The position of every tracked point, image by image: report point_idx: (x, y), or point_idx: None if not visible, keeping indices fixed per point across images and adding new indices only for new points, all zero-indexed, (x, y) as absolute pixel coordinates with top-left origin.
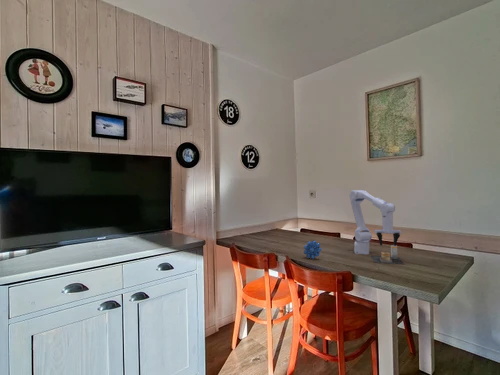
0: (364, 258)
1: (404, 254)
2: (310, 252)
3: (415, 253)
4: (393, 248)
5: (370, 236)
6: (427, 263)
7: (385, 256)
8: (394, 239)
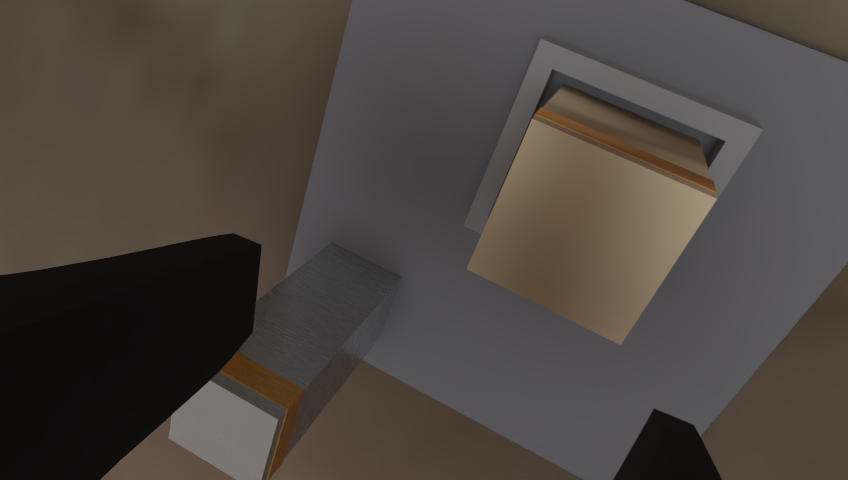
0: (819, 477)
1: None
2: None
3: None
4: (279, 368)
5: None
6: (34, 48)
7: (641, 146)
8: (77, 414)
